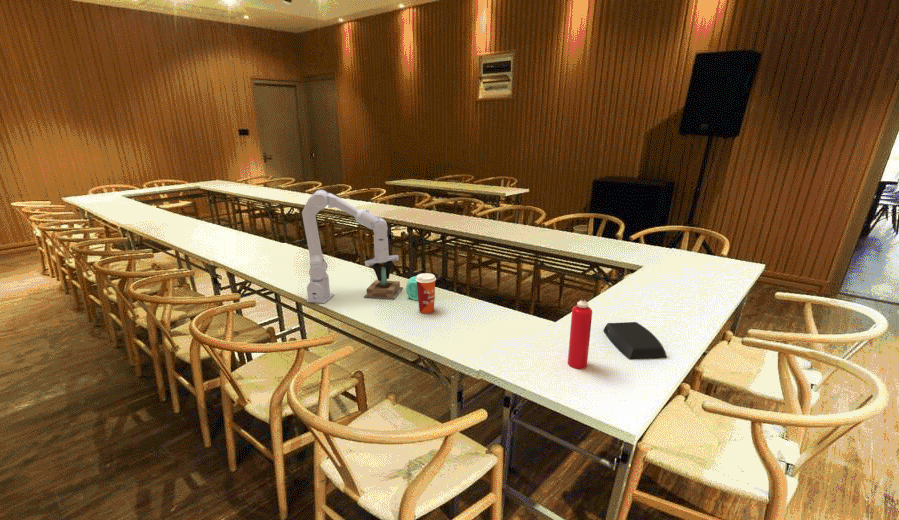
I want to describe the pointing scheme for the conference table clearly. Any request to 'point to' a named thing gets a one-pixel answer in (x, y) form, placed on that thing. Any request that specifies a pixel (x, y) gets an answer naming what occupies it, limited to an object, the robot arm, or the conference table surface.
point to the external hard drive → (634, 341)
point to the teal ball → (412, 288)
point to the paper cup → (426, 292)
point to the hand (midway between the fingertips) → (383, 279)
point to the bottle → (579, 335)
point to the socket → (383, 290)
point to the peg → (383, 276)
